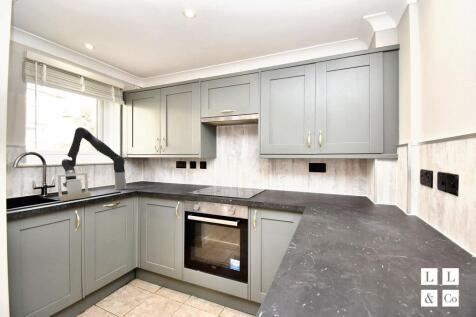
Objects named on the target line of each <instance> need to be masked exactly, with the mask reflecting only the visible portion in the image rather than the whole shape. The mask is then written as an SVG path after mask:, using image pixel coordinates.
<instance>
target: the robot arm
mask: <svg viewBox="0 0 476 317" xmlns="http://www.w3.org/2000/svg"><path fill="white" fill-rule="evenodd" d="M82 140H85V141H87V142H88V143H89V144H90V145H91V146H92V147H93V148H94V149H95V150H96V151H98V153H100V154H102V155H104V156H106V157H107V158H109V159H110V160H112V161H113V162H112V163H113V170H114V190H116V191H119V190H126V189H127V179H126V169H125V163H126V160H125V158H124V157H123V156H121V155H119V154H118V153H117V152H115V151H114V150H113V149H112V148H110V147H109V145H108V144H106V143H105V142H103V141H102V140H100V139H99V138H97V137H95V136H94V135H93V134H92V132H90V131H89V130H88V129H87V128H85V127H81V126H80V127H77V128H76V129H74V135H73V139H72V143H71V145H70V148H69V150H68V152H67V157H68V158H70V159H68V158H64V159H62V161H61V167H62V168H63V170H64V174H77V172H76V170H75V167H76V164H77V157H78V154H79V151H80V147H81V142H82ZM64 177H65V182H63V183H62V186H63V187H65V188H66V185H67V181H66V180H70V179H77V176H64Z"/></svg>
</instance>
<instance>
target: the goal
mask: <svg viewBox="0 0 476 317" xmlns="http://www.w3.org/2000/svg"><path fill="white" fill-rule="evenodd" d="M65 176H76V177H77V176H84V187H85V188H84V192H81V193H77V194H68V193H67V194H63V193H62V178H63V177H65ZM88 182H89V180H88V172H79V173H76V174H65V173H64V174H57V188H58V190H57V191H58V199H59V198H60V199H59V200H60V201H61V200H63V201H68V200H69V199H70V200H75V199H83V198H84V199H85V198H90V197H91V196H92V195H91V191H90V190H89V183H88ZM70 200H69V201H70Z"/></svg>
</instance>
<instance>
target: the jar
mask: <svg viewBox="0 0 476 317" xmlns="http://www.w3.org/2000/svg"><path fill="white" fill-rule="evenodd" d="M82 180H83V179H82V178H76V179H70V180H66V179H65V182H66V181H67V185H66V187H65V188H66V191H67V192H66V193H67V195H68V194H77V193H82V188H83V184H82Z"/></svg>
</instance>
